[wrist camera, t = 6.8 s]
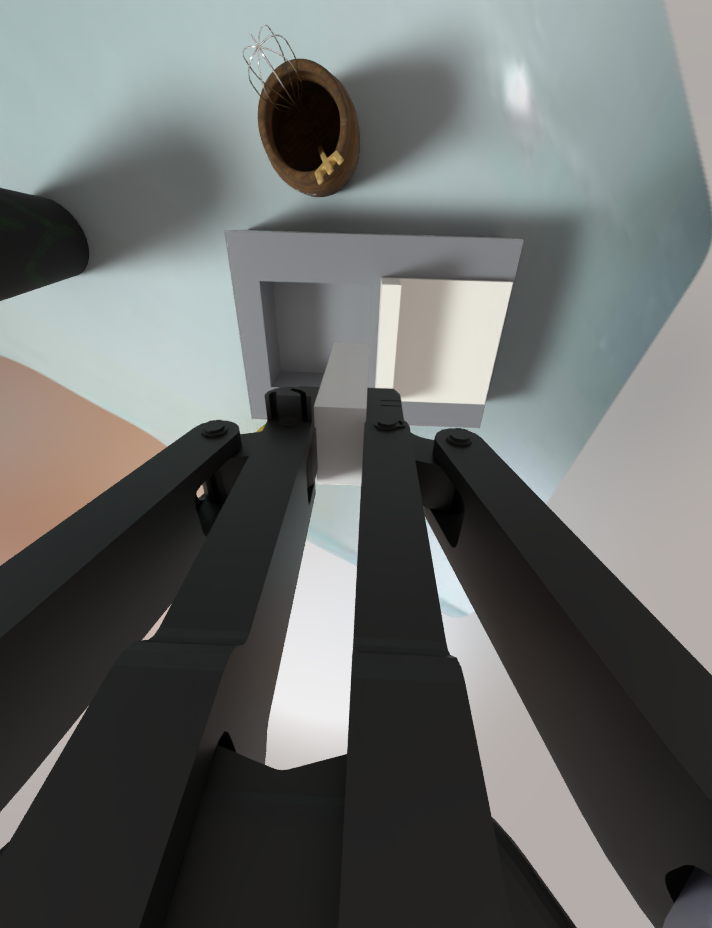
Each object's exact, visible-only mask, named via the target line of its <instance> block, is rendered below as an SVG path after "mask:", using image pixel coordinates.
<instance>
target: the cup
mask: <svg viewBox="0 0 712 928" xmlns="http://www.w3.org/2000/svg"><path fill="white" fill-rule="evenodd" d="M88 259H89V248H88V244H87V239H86V237H85V235H84V233H83V230H82V229H81V227H80V225H79V224H78V222H77V221H76V220H75V218H74V217H73V216H72V215H71V214H70V213H69V212H68V211H67V210H66V209H64V208H63V207H62V206H61V205H59V204H57V203H56V202H54V201H52V200H49V199H46V198H43V197H38V196H34V195H30V194H25V193H21V192H16V191H12V190H7V189H3V188H0V301H2V300H5V299H8V298H11V297H14V296H17V295H20V294H23V293H26V292H29V291H32V290H35V289H38V288H41V287H44V286H47V285H50V284H53V283H56V282H59V281H62V280H65V279H68V278H70V277H73V276H76V275H79V274H80V273H81V272H83V271H84V269H85V268H86V266H87V263H88Z"/></svg>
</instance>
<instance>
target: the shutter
mask: <svg viewBox="0 0 712 928" xmlns="http://www.w3.org/2000/svg"><path fill="white" fill-rule="evenodd" d="M512 285H513V282H511V281H485V280H453V279H421V278H389V277H381V287H380V305H379V323H378V342H377V360H376V378H375V388H390V389H395V390H396V391H397V392H398V393H399V394H400V397H401V401H408V402H433V403H459V404H484V405H485V400H486V396H487V392H488V388H489V383H490V379H491V375H492V370H493V366H494V362H495V358H496V353H497V349H498V345H499V340H500V336H501V332H502V327H503V323H504V319H505V315H506V310H507V306H508V302H509V297H510V293H511V289H512Z"/></svg>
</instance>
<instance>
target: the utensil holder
mask: <svg viewBox="0 0 712 928" xmlns="http://www.w3.org/2000/svg"><path fill="white" fill-rule="evenodd" d="M264 25H266V26H268V25H267V24H263V25H262V26H261V28H260V32H259V39H258V43H257V42H256V40H255V39H254V37H253V36H252V34H251V32H250V31H249V33H250V35H251V36H252V38H253V40H254V41H255V43H256V45H257V46H248V47H245V48H244V49H243V52H242V55H243V58H244V59H245V57H244V54H243V53H244V50H245V49H247V48H251V47H255V48H257V49H256V50H255V52H256V51H257V50H258V64H259V72H260V63H259V50H260V51H261V53H262V54H263V56H264V58H265V59H266V61H267V63H268V64H269V66H270V67H271V69H272V71H273V72H272V73H271V75H270V76H269V77H268V79H267V81H266V82H265V83H264V82H263V81H262V77H261V72H260V77H261V79H260V78H259V77H258V76H257V75H256V73H255V72H254V71H253V70H252V68H251V67H250V63H251V60H252V58H253V56H254V54H255V52H254V53H253V55H252V57H251V60H250V62H249V64H248V62H247V61H246V59H245V61H246V63H247V64H248V66H249V67H250V68H251V70H252V71H253V73H254V74H255V75H256V76H257V77H258V78H259V79H260V80H261V81H262V85H263V83H264V85H263V89H262V92H261V95H260V94H259V93H258V91H257V90H256V89H255V87H254V86H253V84H252V82H251V81H250V77H249V67H248V77H249V81H250V83H251V84H252V86H253V87H254V89H255V90H256V92H257V93H258V94H259V96H260V100H259V106H258V126H259V132H260V136H261V140H262V143H263V146H264V149H265V151H266V153H267V155H268V158H269V160H270V162H271V164H272V166H273V167H274V169H275V171H276V172H277V173H278V175H279V176H280V177H281V178H282V179H283V180H284V181H285V182H286V183H287V184H288V185H289V186H291V187H292V188H294V189H295V190H297V191H299V192H301V193H304V194H306V195H309V196H313V197H326V196H330V195H332V194H334V193H336V192H338V191H339V190H341V189H342V188H343V187H344V186H345V185H346V184H347V183H348V181H349V180H350V178H351V177H352V175H353V173H354V171H355V168H356V165H357V162H358V158H359V151H360V134H359V126H358V121H357V116H356V112H355V109H354V106H353V104H352V101H351V99H350V97H349V95H348V93H347V91H346V90H345V88H344V87H343V85H342V84H341V83H340V82H339V81H338V79H337V78H336V77H334V76H333V75H332V74H331V73H330V72H329V71H328V70H327V69H325V68H324V67H323V66H321V65H319V64H318V63H316V62H313V61H311V60H307V59H296V57H295V54H294V52H293V50H292V48H291V47H290V45H289V43H288V42H287V40H286V39H285V37H283V36H282V35H279V34H273V32H272V30H271V29H270V27H269V26H268V28H269V29H270V31H271V32H272V34H273V35H271V36H269V37H267V38H266V39H265V40H264V41H262V42H261V44H260V45H259V40H260V33H261V29H262V27H263V26H264ZM273 36H274V37H275V36H280V37H283V38H284V39H285V41H286V42H287V44H288V45H289V47H290V49H291V51H292V52H293V55H294V57H295V59H293V60H288V59H287V58H285V57H284V55H283V52H282V49H281V47H280V45H279V43H278V41H277V39H276V37H275V39H276V41H277V43H278V45H279V47H280V49H281V52H282V55H281V54H280V53H278V52H276V51H274V50H272V49H269V48H265V47H260V46H261V45H262V44H263V43H264V42H265V41H266V40H267V39H269V38H270V37H273ZM261 48H263V49H267V50H270V51H273V52H275V53H277V54H279V55H280V56H282V57H283V58H284V61H285V59H286V60H287V62H286V61H285V62H284V63H283V64H281V65H280V66H278V67H277V68H276V69H275V70H274V69H273V67H272V66H271V64H270V63H269V61H268V59H267V58H266V56H265V55H264V53H263V51H262V50H261Z"/></svg>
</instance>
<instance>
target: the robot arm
mask: <svg viewBox="0 0 712 928" xmlns="http://www.w3.org/2000/svg"><path fill="white" fill-rule="evenodd" d="M368 354H369V344H362V343H334V345H333V348H332V351H331V354H330V357H329V361H328V364H327V367H326V370H325V373H324V376H323V379H322V382H321V386H320V387H310V386H299V387H281V388H275V389H273V390H270V391H268V392H267V393H266V394H265V395H264V396H265V404H266V412H267V423H266V425H265V427H264V429H263V431H260V432H255V433H248V434H240V431H239V426H238V425H237V424H235V423H233V422H230V421H222V420H216V421H214V420H213V421H209V422H207V423H203V424H200V425H199V426H197V427H195V428H193V429H192V430H190V431H189V432H188V433H186V434H185V435H183V436H182V437H181V438H179V439H178V440H176V441H175V442H174V443H172V444H171V445H169V446H168V447H167V448H165V449H164V450H162V451H161V452H160V453H158V454H157V455H155V456H154V457H153V458H151V459H150V460H148V461H147V462H146V463H144V464H143V465H141V466H140V467H139V468H137V469H136V470H134V471H133V472H132V473H130V474H129V475H127V476H126V477H124V478H123V479H122V480H120V481H119V482H118V483H116V484H115V485H113V486H112V487H110V488H109V489H108V490H106V491H105V492H103V493H102V494H101V495H99V496H98V497H96V498H95V499H94V500H92V501H91V502H90V503H88V504H87V505H85V506H84V507H83V508H81V509H80V510H78V511H77V512H75V513H74V514H73V515H71V516H70V517H68V518H67V519H66V520H64V521H63V522H62V523H60V524H59V525H57V526H56V527H55V528H53V529H52V530H50V531H49V532H47V533H46V534H44V535H43V536H42V537H40V538H39V539H37V540H36V541H35V542H33V543H32V544H30V545H29V546H28V547H26V548H25V549H24V550H22V551H21V552H19V553H18V554H16V555H15V556H14V557H12V558H11V559H9V560H8V561H7V562H5V563H4V564H3V565H1V566H0V811H2V809H3V808H4V807H5V806H6V805H7V804H8V802H9V801H10V800H11V799H12V798H13V796H14V795H15V794H16V793H17V792H18V791H19V790H20V789H21V787H22V786H23V785H24V784H25V783H26V782H27V780H28V779H29V778H30V777H31V776H32V774H33V773H34V772H35V771H36V769H37V768H38V767H39V766H40V765H41V763H42V762H43V761H44V760H45V758H46V757H47V756H48V755H49V754H50V752H51V751H52V750H53V748H54V747H55V746H56V745H57V744H58V742H59V741H60V740H61V739H62V738H63V736H64V735H65V734H66V733H67V731H68V730H69V729H70V728H71V727H72V725H73V724H74V723H75V721H76V720H77V719H78V718H79V717H80V715H81V714H82V713H83V712H84V710H85V709H86V708H87V707H88V706H89V707H88V708H87V710H86V712H85V714H84V715H83V717H82V719H81V720H80V722H79V724H78V725H77V727H76V729H75V731H74V732H73V734H72V736H71V737H70V739H69V741H68V743H67V744H66V746H65V748H64V749H63V751H62V753H61V755H60V757H59V758H58V760H57V761H56V763H55V765H54V767H53V768H52V770H51V772H50V773H49V775H48V777H47V778H46V781H45V782H44V784H43V785H42V787H41V789H40V790H39V792H38V794H37V796H36V797H35V799H34V801H33V802H32V804H31V806H30V808H29V809H28V811H27V813H26V814H25V816H24V818H23V820H22V821H21V823H20V825H19V827H18V829H17V830H16V832H15V833H14V835H13V837H12V838H11V840H10V842H8V843H7V844H6V845H5V846H4V847H3V848H2V849H1V850H0V928H577V927H576V926H575V925H574V923H573V922H572V920H571V919H570V918H569V916H568V915H567V913H566V912H565V911H564V909H563V908H562V906H561V905H560V904H559V902H558V901H557V900H556V898H555V897H554V895H553V894H552V893H551V891H550V890H549V888H548V887H547V886H546V884H545V883H544V881H543V880H542V879H541V877H540V876H539V875H538V873H537V872H536V870H535V869H534V868H533V866H532V865H531V864H530V862H529V861H528V859H527V858H526V857H525V855H524V854H523V853H522V851H521V850H520V849H519V847H518V846H517V845H516V843H515V842H514V841H513V840H512V838H511V837H510V836H509V835H508V834H507V833H506V832H505V831H504V830H503V828H502V827H501V826H500V825H499V824H498V823H497V822H496V821H495V819H493V818H492V817H491V812H490V807H489V802H488V797H487V792H486V786H485V782H484V776H483V771H482V766H481V761H480V756H479V751H478V746H477V740H476V735H475V730H474V725H473V720H472V715H471V710H470V705H469V700H468V695H467V690H466V684H465V680H464V676H463V673H462V669H461V666H460V664H459V662H458V660H457V658H456V657H454V656H451V655H450V653H449V651H448V648H447V644H446V639H445V633H444V627H443V622H442V615H441V609H440V603H439V598H438V592H437V586H436V580H435V574H434V568H433V562H432V556H431V550H430V545H429V539H428V533H427V527H426V521H425V517H426V519H427V521H428V523H429V525H430V527H431V529H432V530H433V532H434V534H435V536H436V538H437V540H438V542H439V544H440V546H441V548H442V549H443V551H444V553H445V555H446V557H447V559H448V561H449V563H450V565H451V567H452V568H453V570H454V572H455V574H456V576H457V578H458V580H459V582H460V584H461V585H462V587H463V589H464V591H465V593H466V595H467V597H468V599H469V601H470V603H471V604H472V606H473V608H474V610H475V612H476V614H477V616H478V618H479V619H480V622H481V623H482V625H483V627H484V629H485V631H486V633H487V635H488V637H489V639H490V640H491V642H492V644H493V646H494V648H495V650H496V652H497V654H498V655H499V657H500V660H501V661H502V663H503V665H504V667H505V669H506V671H507V673H508V674H509V677H510V678H511V680H512V682H513V684H514V686H515V687H516V690H517V692H518V694H519V696H520V697H521V699H522V701H523V703H524V705H525V707H526V709H527V711H528V712H529V715H530V716H531V718H532V720H533V722H534V724H535V726H536V728H537V730H538V732H539V733H540V735H541V737H542V739H543V741H544V743H545V745H546V747H547V749H548V750H549V752H550V754H551V756H552V758H553V760H554V762H555V764H556V766H557V768H558V769H559V771H560V773H561V775H562V777H563V779H564V781H565V783H566V785H567V787H568V788H569V790H570V792H571V794H572V796H573V798H574V800H575V802H576V804H577V806H578V807H579V809H580V811H581V813H582V815H583V817H584V818H585V820H586V822H587V823H588V825H589V827H590V829H591V830H592V832H593V834H594V836H595V837H596V839H597V841H598V843H599V844H600V846H601V848H602V850H603V851H604V853H605V855H606V856H607V858H608V860H609V861H610V862H611V864H612V866H613V867H614V869H615V870H616V872H617V873H618V875H619V876H620V878H621V879H622V881H623V882H624V884H625V885H626V887H627V889H628V890H629V891H630V893H631V895H632V896H633V898H634V899H635V901H636V902H637V904H638V905H639V907H640V908H641V910H642V911H643V912H644V914H646V916H647V917H648V919H649V920H650V922H651V923H652V924H653V926H654V927H655V928H712V675H711V674H710V673H709V672H708V671H707V670H706V669H705V668H704V667H703V666H702V665H701V664H700V663H699V662H698V661H697V660H696V659H695V658H694V657H693V656H692V655H691V653H690V652H688V650H686V648H684V646H683V645H682V644H681V643H680V642H679V641H678V640H677V639H676V638H675V637H674V636H673V635H672V634H671V633H670V632H669V631H668V630H667V629H666V628H665V627H664V626H663V625H662V624H661V623H660V622H659V621H658V620H657V619H656V617H654V615H653V614H652V613H651V612H650V611H649V610H648V609H647V608H646V607H645V606H644V605H643V604H642V603H641V602H640V601H639V600H638V599H637V598H636V597H635V596H634V595H633V594H632V593H631V592H630V591H629V590H628V589H627V588H626V587H625V585H623V583H621V581H619V579H618V578H617V577H616V576H615V575H614V574H613V573H612V572H611V571H610V570H609V569H608V568H607V567H606V566H605V565H604V564H603V563H602V562H601V561H600V560H599V559H598V558H597V557H596V556H595V555H594V554H593V553H592V551H591V550H590V549H589V548H587V546H586V545H585V544H584V543H583V542H582V541H581V540H580V539H579V538H578V537H577V536H576V535H575V534H574V533H573V532H572V531H571V530H570V529H569V528H568V527H567V526H566V525H565V524H564V523H563V522H562V521H561V520H560V519H559V517H557V515H556V514H555V513H554V512H553V511H552V510H551V509H550V508H549V507H548V506H547V505H546V504H545V503H544V502H543V501H542V500H541V499H540V498H539V497H538V496H537V495H536V494H535V493H534V492H533V491H532V490H531V489H530V488H529V487H528V486H527V485H526V483H525V482H524V481H523V480H522V479H521V478H520V477H519V476H518V475H517V474H516V473H515V472H514V471H513V470H512V469H511V468H510V467H509V466H508V465H507V464H506V463H505V462H504V461H503V460H502V459H501V458H500V457H499V456H498V455H497V454H496V453H495V452H494V451H493V449H492V448H491V447H490V446H489V445H488V444H487V443H486V442H485V441H484V440H483V439H482V438H481V437H479V436H478V435H477V434H475V433H472V432H470V431H468V430H466V429H461V428H455V429H450V428H449V429H444V430H441V431H439V432H438V433H437V434H436V436H435V440H430V439H425V438H422V437H419V436H416V435H414V434H412V433H411V432H410V427H409V425H408V423H407V422H406V421H404V416H403V410H402V403H401V397H400V394H399V393H398V392H397V391H396V390H395V389H390V388H367V382H368ZM316 473H317V484H334V485H358V486H361V500H360V520H359V540H358V560H357V579H356V599H355V619H354V639H353V654H352V672H351V692H350V710H349V730H348V749H347V754H345V755H342V756H338V757H334V758H330V759H326V760H323V761H319V762H315V763H311V764H308V765H304V766H300V767H296V768H292V769H289V770H277V769H274V768H271V767H269V766H266V765H265V757H266V742H267V727H268V720H269V714H270V709H271V705H272V700H273V695H274V690H275V685H276V680H277V676H278V671H279V666H280V661H281V657H282V652H283V647H284V642H285V637H286V633H287V628H288V623H289V618H290V613H291V609H292V604H293V599H294V594H295V589H296V585H297V579H298V574H299V570H300V565H301V560H302V556H303V550H304V546H305V541H306V536H307V532H308V527H309V522H310V517H311V512H312V508H313V503H314V498H315V478H316ZM201 485H203V489H204V494H203V495H202V496H201V497H199V498H198V497H197V495H196V492H197V490H198V489H199V488H200V486H201ZM172 602H173V603H172ZM170 605H171V606H170ZM169 606H170V608H169V610H168V612H167V614H166V616H165V618H164V620H163V622H162V624H161V625H160V627H159V629H158V630H157V632H156V633H155V635H154V636H153V637H152V638H150V639H149V640H142V639H143V638H144V637H145V636H146V634H147V633H148V632H149V631H150V629H151V628H152V627H153V626H154V624H155V623H156V622H157V621H158V619H159V618H160V617H161V616H162V615H163V613H164V612H165V611H166V610H167V608H168V607H169ZM141 640H142V641H141ZM89 704H90V705H89Z"/></svg>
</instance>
